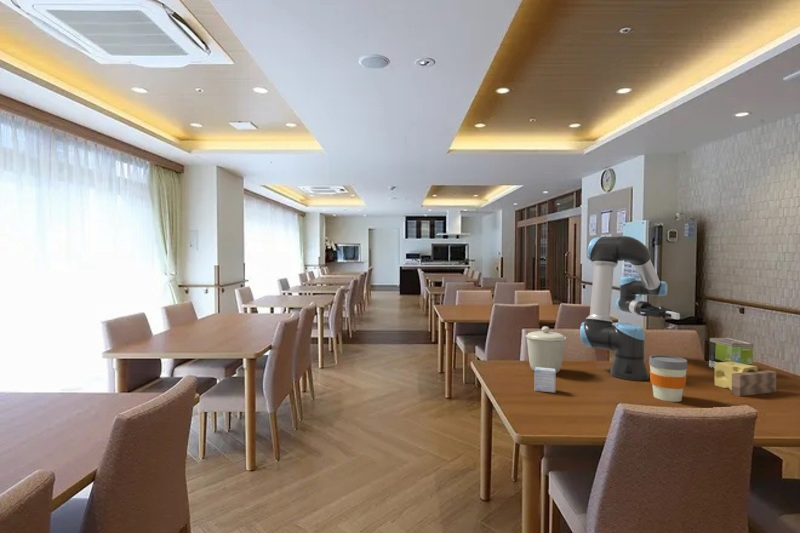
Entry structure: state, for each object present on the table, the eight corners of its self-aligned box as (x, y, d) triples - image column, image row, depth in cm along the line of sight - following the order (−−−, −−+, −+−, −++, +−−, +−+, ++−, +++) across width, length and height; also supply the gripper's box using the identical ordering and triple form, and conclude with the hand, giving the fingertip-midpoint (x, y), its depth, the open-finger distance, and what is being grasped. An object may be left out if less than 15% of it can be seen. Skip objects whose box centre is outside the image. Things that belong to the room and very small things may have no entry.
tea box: (753, 375, 192) (754, 343, 192) (731, 375, 192) (732, 343, 192) (728, 366, 207) (729, 337, 207) (708, 366, 207) (708, 337, 207)
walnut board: (739, 396, 161) (739, 375, 161) (731, 393, 164) (731, 373, 164) (776, 391, 167) (776, 372, 167) (767, 389, 170) (767, 370, 170)
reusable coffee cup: (648, 390, 168) (648, 353, 167) (685, 396, 161) (686, 357, 161) (648, 399, 157) (648, 359, 157) (688, 405, 150) (689, 364, 150)
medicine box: (555, 389, 168) (555, 368, 168) (555, 393, 164) (555, 371, 163) (534, 387, 170) (534, 366, 170) (534, 391, 166) (534, 369, 166)
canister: (547, 378, 184) (547, 331, 183) (516, 369, 200) (517, 325, 199) (574, 373, 193) (575, 327, 192) (543, 364, 208) (544, 322, 208)
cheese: (739, 393, 166) (739, 368, 165) (712, 385, 176) (712, 361, 176) (758, 391, 168) (758, 366, 168) (730, 383, 179) (731, 360, 179)
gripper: (652, 312, 220) (690, 321, 197) (630, 317, 218) (666, 326, 195) (651, 299, 219) (689, 306, 196) (629, 303, 217) (665, 311, 194)
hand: (678, 316), depth 196 cm, fingers closed
